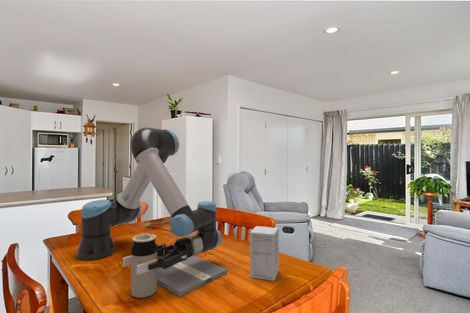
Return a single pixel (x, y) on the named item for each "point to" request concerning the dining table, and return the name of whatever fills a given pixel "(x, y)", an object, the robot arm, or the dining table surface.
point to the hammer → (157, 223)
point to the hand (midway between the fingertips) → (130, 266)
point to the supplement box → (264, 253)
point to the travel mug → (141, 253)
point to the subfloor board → (188, 275)
